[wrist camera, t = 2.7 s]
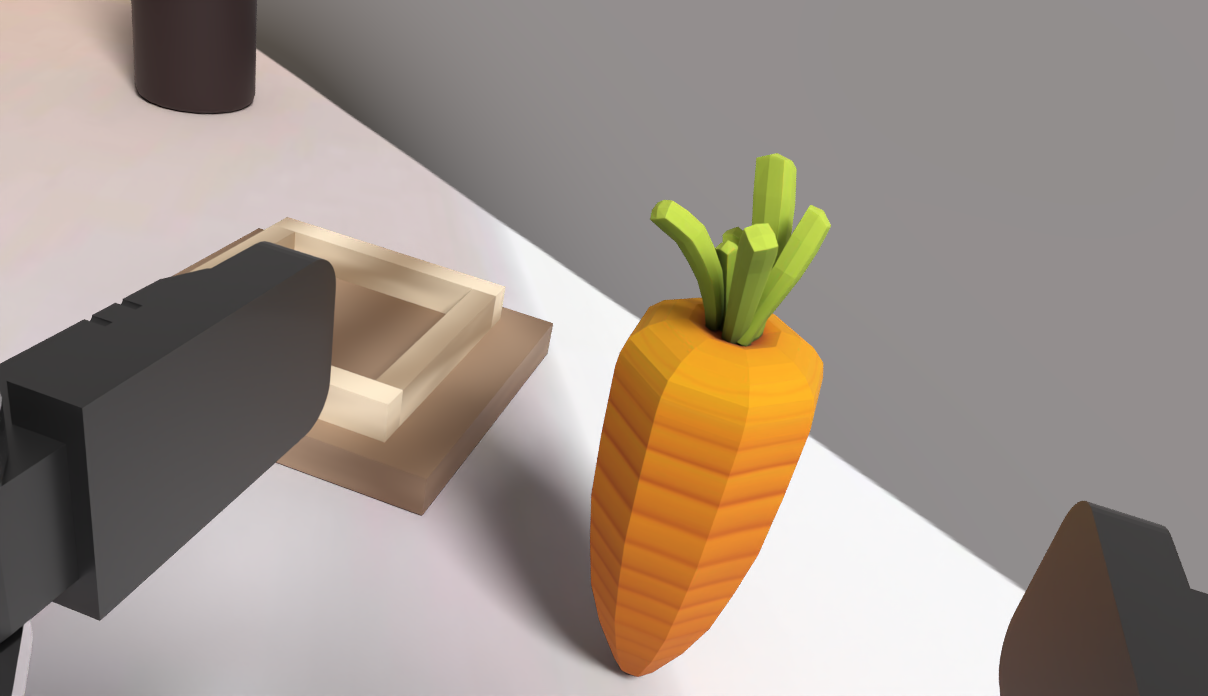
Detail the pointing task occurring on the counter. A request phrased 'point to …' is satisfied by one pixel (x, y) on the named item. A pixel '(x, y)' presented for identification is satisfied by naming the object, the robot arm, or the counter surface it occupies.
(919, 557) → the counter surface
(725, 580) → the carrot
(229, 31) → the bottle
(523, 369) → the beige wooden tray
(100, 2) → the counter surface
